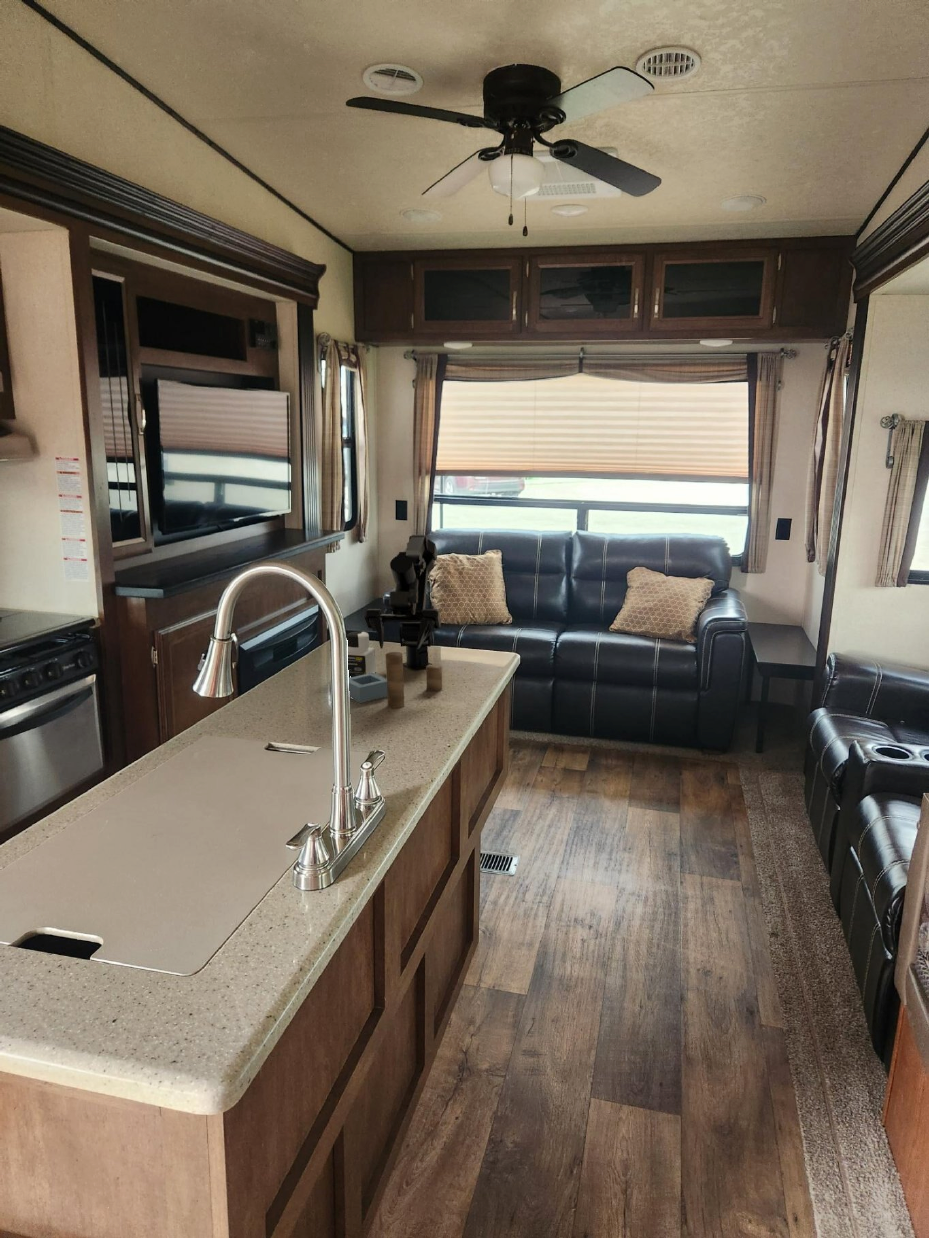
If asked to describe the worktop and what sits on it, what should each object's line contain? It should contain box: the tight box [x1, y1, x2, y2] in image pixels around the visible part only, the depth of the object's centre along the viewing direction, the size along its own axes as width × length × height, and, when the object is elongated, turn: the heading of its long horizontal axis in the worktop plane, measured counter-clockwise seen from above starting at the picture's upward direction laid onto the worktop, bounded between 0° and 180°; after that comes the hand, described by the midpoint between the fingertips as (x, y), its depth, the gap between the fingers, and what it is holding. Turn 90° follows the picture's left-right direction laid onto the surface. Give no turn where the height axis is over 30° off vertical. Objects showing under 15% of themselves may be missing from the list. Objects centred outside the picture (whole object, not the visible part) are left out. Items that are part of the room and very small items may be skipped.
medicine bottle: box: [346, 630, 377, 678], centre depth 226 cm, size 7×7×12 cm
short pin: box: [425, 664, 443, 692], centre depth 214 cm, size 4×4×6 cm
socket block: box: [349, 673, 388, 704], centre depth 210 cm, size 9×9×4 cm
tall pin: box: [385, 651, 405, 709], centre depth 201 cm, size 4×4×13 cm
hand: (399, 648), depth 206 cm, fingers open, 9 cm apart
